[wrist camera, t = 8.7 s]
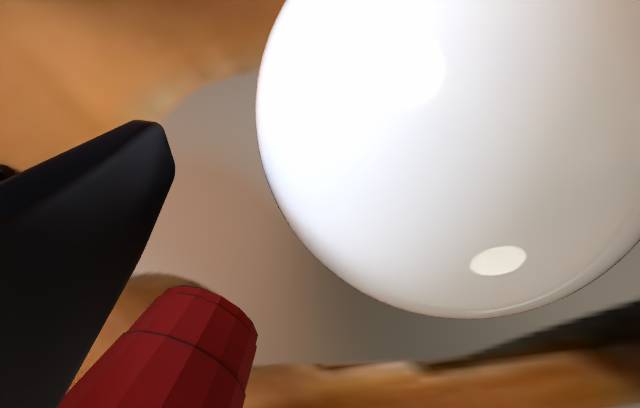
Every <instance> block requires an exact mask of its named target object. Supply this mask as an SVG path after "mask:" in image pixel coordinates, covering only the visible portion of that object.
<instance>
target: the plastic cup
mask: <svg viewBox="0 0 640 408" xmlns="http://www.w3.org/2000/svg"><path fill="white" fill-rule="evenodd" d="M257 336H258V334H257V332H256V330H255V327H254V324H253V322H252V321H251V320H250V319H249V318H248V317H247V316H246V314H245V313H244V312H243V311H242V310H241V309H240V308H239V307H237V306H236V305H234V304H232V303H231V302H229V301H228V300H227V299H225V298H223V297H222V296H220V295H217V294H215V293H212V292H209V291H207V290H204V289H202V288H195V287H188V286H179V287H174V288H169V289H167V290H166V292H165V293H164V294H163V295H162V296H159V297H158V298H157V299H156V300H155V301H154V302H153V303H152V304H151V305H150V306H149V307H148V308H147V310H146V311H145V312H144V313H143V314H142V315H141V316H140V317H139V319H138V320H137V321H136V322H135V323H134V324H133V325H132V326H131V328H130V329H129V330H128V331H127V332H126V333H123V334H122V335H121V336H120V337H119V338H118V339H117V340H116V341H115V342H114V344H113V345H112V346H111V347H110V348H109V349H108V350H107V351H106V352H105V353H104V354H103V355H102V356H101V357H100V358H99V360H98V361H97V362H96V363H95V364H94V365H93V366H92V367H91V368H90V369H89V370H88V371H87V372H86V373H85V374H84V376H83V377H82V378H81V379H80V380H79V381H78V382H77V383H76V384H75V385H74V386H73V387H72V388H71V389H70V390H69V392H68V393H67V394H66V395H65V396H64V398H63V399H62V401H61V403H60V405H59V407H58V408H243V404H244V400H245V396H246V395H245V389H246V386H247V382H248V378H249V374H250V371H251V367H252V363H253V360H254V356H255V352H256V341H257Z"/></svg>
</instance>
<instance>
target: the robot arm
mask: <svg viewBox="0 0 640 408" xmlns="http://www.w3.org/2000/svg"><path fill="white" fill-rule="evenodd" d="M174 176H175V163H174V160H173V156H172V153H171V150H170V147H169V144H168V141H167V137H166V134H165V131H164V129H163V127H162V126H161V125H160V124H158V123H156V122H151V121H143V120H133V121H130V122H128V123H126V124H124V125H122V126H119V127H117V128H115V129H113V130H111V131H109V132H107V133H104V134H102V135H100V136H98V137H96V138H94V139H91V140H89V141H87V142H85V143H83V144H81V145H79V146H76V147H74V148H72V149H70V150H68V151H66V152H64V153H61V154H59V155H57V156H55V157H53V158H51V159H48V160H46V161H44V162H42V163H40V164H38V165H36V166H33V167H31V168H29V169H27V170H25V171H23V172H21V173H18V174H15V173H14V172H13V171H12V170H11V169H10V168H9V167H7V166H4V165H1V164H0V408H58V407H59V405H60V403H61V401H62V399H63V398H64V396H65V394H66V392H67V390H68V389H69V387H70V385H71V383H72V381H73V380H74V378H75V376H76V374H77V372H78V371H79V369H80V367H81V365H82V363H83V361H84V360H85V358H86V356H87V354H88V352H89V351H90V349H91V347H92V345H93V343H94V342H95V340H96V338H97V336H98V334H99V333H100V331H101V329H102V327H103V325H104V324H105V322H106V320H107V318H108V316H109V315H110V313H111V311H112V309H113V307H114V305H115V304H116V302H117V300H118V298H119V296H120V295H121V293H122V291H123V289H124V287H125V286H126V284H127V282H128V280H129V278H130V277H131V275H132V273H133V271H134V269H135V267H136V265H137V263H138V261H139V260H140V258H141V255H142V253H143V251H144V249H145V247H146V244H147V242H148V240H149V237H150V235H151V232H152V230H153V228H154V225H155V223H156V221H157V218H158V216H159V213H160V211H161V208H162V206H163V204H164V201H165V199H166V197H167V194H168V192H169V189H170V187H171V184H172V182H173V179H174Z"/></svg>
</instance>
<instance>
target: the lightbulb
mask: <svg viewBox="0 0 640 408" xmlns="http://www.w3.org/2000/svg"><path fill="white" fill-rule="evenodd" d="M255 117H256V133H257V141H258V147H259V153H260V157H261V162H262V166H263V169H264V172H265V176H266V179H267V182H268V184H269V187H270V189H271V192H272V194H273V196H274V198H275V201H276V203H277V205H278V207H279V209H280V211H281V212H282V214H283V216H284V218H285V219H286V221H287V222H288V224H289V225H290V227H291V229H292V230H293V231H294V233H295V234H296V235H297V236H298V238H299V239H300V240H301V242H302V243H303V244H304V245H305V247H306V248H307V249H308V250H309V251H310V252H311V253H312V254H313V255H314V256H315V257H316V258H317V259H318V260H319V261H320V262H321V263H322V264H323V265H324V266H325V267H327V268H328V269H329V270H330V271H331V272H332V273H334V274H335V275H336V276H338V277H339V278H340V279H341V280H343V281H344V282H346V283H347V284H349V285H351V286H352V287H354V288H355V289H357V290H359V291H361V292H362V293H364V294H366V295H368V296H370V297H372V298H374V299H376V300H378V301H380V302H383V303H385V304H388V305H390V306H394V307H396V308H399V309H402V310H405V311H409V312H413V313H417V314H421V315H427V316H432V317H439V318H449V319H486V318H495V317H502V316H508V315H513V314H517V313H521V312H525V311H529V310H533V309H536V308H539V307H542V306H545V305H548V304H550V303H552V302H555V301H557V300H560V299H562V298H564V297H566V296H568V295H570V294H572V293H574V292H576V291H578V290H580V289H581V288H583V287H585V286H586V285H588V284H590V283H591V282H592V281H594V280H596V279H597V278H599V277H600V276H601V275H603V274H604V273H605V272H607V271H608V270H609V269H610V268H612V267H613V266H614V265H615V264H616V263H618V262H619V261H620V260H621V259H622V258H623V257H624V256H625V255H626V254H627V253H628V252H629V251H630V250H631V249H632V248H633V247H634V246H635V245H636V244H637V243H638V242H639V241H640V0H286V1H285V3H284V5H283V7H282V8H281V10H280V12H279V14H278V16H277V18H276V20H275V23H274V25H273V27H272V30H271V32H270V35H269V37H268V40H267V43H266V46H265V49H264V53H263V56H262V60H261V64H260V69H259V74H258V81H257V89H256V104H255Z"/></svg>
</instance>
